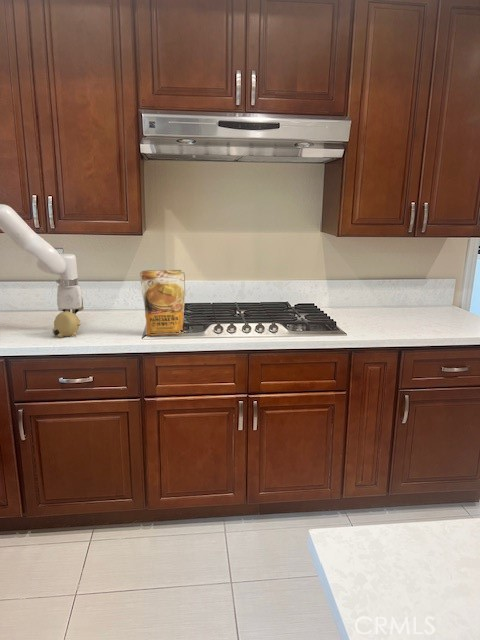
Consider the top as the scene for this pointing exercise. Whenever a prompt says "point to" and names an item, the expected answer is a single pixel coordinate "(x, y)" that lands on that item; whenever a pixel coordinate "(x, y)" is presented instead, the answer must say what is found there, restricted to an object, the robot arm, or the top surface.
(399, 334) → the top surface
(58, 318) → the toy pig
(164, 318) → the pancake mix bag
